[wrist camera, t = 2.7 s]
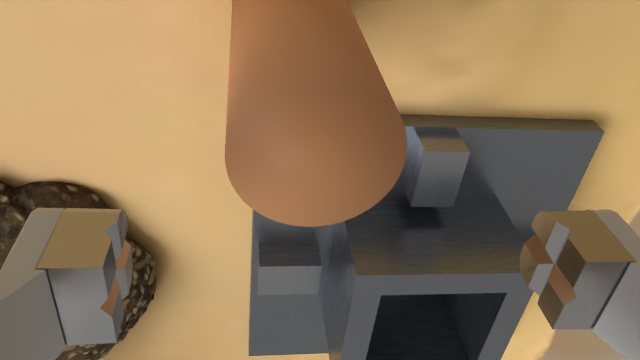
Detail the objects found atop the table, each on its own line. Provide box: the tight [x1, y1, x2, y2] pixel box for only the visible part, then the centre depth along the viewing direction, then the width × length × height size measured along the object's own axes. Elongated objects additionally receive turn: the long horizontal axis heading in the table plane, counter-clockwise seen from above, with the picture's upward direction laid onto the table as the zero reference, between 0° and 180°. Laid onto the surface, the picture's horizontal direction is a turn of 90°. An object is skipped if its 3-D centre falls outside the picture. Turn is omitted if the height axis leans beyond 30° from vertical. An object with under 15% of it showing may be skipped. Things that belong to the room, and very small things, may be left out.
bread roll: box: [0, 182, 156, 360], centre depth 26 cm, size 13×12×5 cm
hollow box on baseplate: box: [249, 115, 604, 360], centre depth 27 cm, size 16×16×6 cm
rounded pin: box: [225, 0, 407, 227], centre depth 16 cm, size 4×4×11 cm
